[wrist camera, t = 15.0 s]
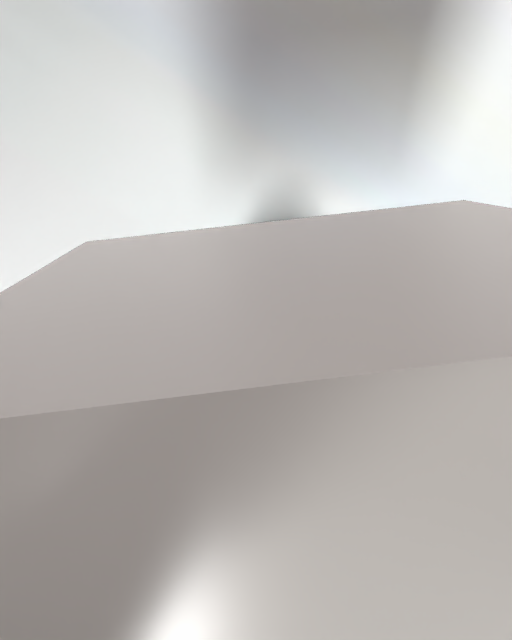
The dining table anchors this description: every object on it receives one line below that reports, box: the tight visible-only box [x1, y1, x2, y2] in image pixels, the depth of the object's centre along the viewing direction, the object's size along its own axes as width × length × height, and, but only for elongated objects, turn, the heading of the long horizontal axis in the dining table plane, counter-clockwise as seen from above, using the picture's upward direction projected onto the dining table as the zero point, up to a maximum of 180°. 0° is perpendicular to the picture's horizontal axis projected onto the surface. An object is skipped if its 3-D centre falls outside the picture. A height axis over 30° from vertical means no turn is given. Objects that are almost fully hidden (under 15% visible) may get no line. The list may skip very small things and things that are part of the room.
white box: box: [0, 200, 512, 640], centre depth 9 cm, size 10×10×9 cm
